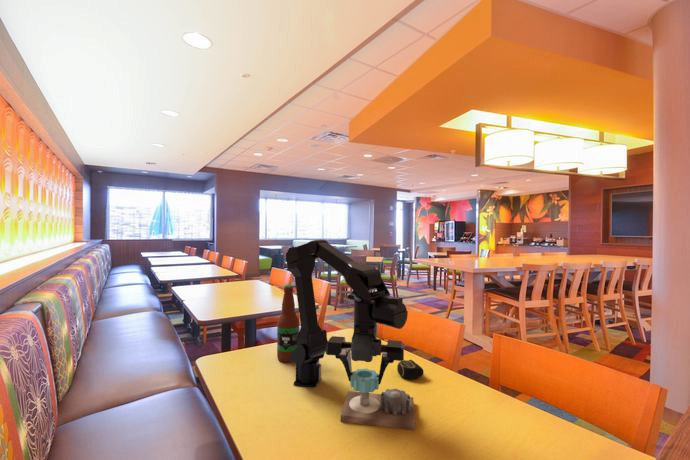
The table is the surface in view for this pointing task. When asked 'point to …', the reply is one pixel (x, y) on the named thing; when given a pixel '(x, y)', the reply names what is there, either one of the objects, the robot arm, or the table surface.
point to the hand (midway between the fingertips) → (364, 382)
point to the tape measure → (409, 369)
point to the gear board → (380, 409)
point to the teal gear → (365, 380)
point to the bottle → (287, 326)
